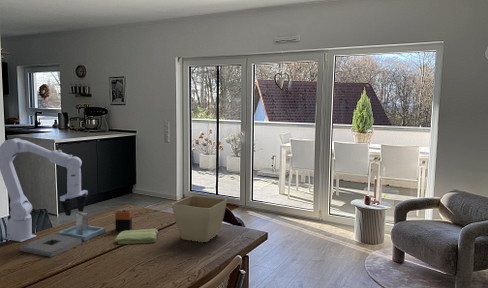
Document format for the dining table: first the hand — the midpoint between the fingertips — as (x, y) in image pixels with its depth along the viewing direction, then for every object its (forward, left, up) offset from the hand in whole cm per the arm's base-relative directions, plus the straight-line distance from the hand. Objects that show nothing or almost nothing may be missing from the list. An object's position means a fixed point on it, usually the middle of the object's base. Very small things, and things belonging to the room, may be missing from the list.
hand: (74, 213), depth 167 cm
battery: (+15, +15, -11) cm, 24 cm away
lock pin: (+2, +2, -10) cm, 10 cm away
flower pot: (+53, +20, -11) cm, 58 cm away
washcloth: (+29, +7, -11) cm, 31 cm away
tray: (+2, +2, -10) cm, 11 cm away
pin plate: (+2, -15, -10) cm, 18 cm away
